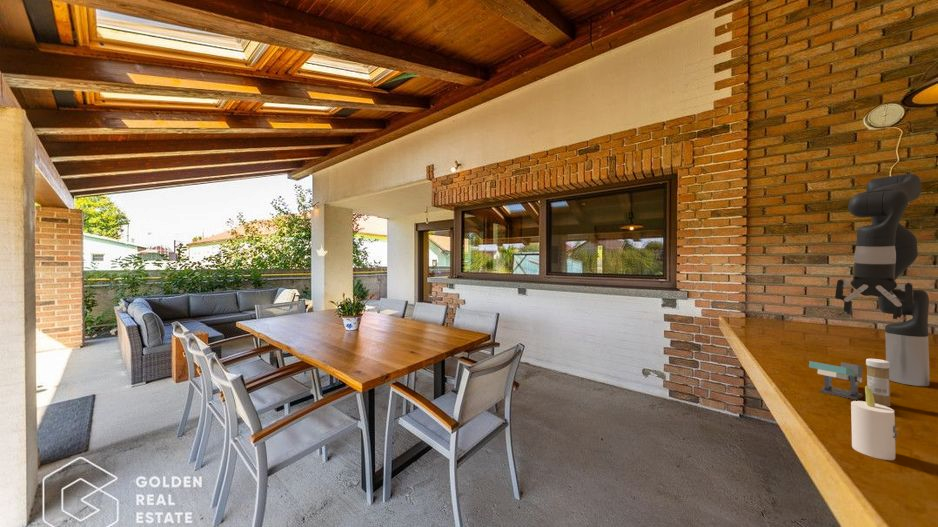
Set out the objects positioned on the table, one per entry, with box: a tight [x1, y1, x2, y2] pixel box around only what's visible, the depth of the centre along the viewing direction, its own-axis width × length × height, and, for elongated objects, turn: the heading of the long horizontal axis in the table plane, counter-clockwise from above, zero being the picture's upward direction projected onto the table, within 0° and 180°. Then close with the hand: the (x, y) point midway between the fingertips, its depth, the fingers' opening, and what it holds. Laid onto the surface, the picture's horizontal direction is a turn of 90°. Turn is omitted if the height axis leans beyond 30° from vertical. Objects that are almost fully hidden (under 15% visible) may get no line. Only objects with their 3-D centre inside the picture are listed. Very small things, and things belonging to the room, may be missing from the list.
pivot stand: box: [819, 373, 864, 401], centre depth 107 cm, size 6×8×8 cm
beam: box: [808, 360, 864, 383], centre depth 107 cm, size 26×8×6 cm, turn 118°
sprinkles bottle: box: [865, 358, 891, 407], centre depth 100 cm, size 5×5×14 cm
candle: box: [850, 385, 898, 461], centre depth 75 cm, size 6×6×15 cm
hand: (871, 316), depth 96 cm, fingers open, 8 cm apart
